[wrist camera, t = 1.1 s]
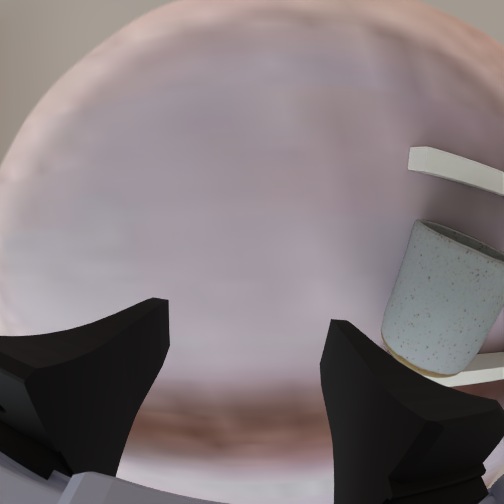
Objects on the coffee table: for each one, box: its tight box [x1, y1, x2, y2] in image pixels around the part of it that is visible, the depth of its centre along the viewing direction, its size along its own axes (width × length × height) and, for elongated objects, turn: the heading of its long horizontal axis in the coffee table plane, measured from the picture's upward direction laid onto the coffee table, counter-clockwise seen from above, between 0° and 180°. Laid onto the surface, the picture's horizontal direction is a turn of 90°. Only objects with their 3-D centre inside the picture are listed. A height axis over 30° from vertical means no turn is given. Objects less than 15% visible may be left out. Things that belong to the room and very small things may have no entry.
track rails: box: [393, 146, 504, 387], centre depth 18 cm, size 17×18×2 cm
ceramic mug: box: [381, 219, 504, 378], centre depth 16 cm, size 11×8×8 cm
